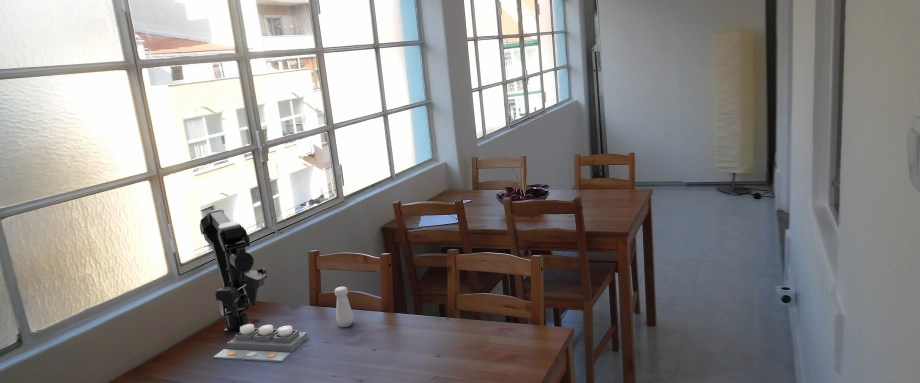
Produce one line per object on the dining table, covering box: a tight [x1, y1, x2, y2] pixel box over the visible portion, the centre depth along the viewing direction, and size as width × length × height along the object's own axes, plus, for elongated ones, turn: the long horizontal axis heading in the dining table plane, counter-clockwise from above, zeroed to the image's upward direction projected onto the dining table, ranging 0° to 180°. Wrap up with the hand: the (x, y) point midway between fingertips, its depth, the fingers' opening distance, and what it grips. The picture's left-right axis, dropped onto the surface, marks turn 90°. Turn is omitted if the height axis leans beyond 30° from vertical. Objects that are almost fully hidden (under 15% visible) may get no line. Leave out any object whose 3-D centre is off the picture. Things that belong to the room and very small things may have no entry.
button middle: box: [258, 324, 274, 336], centre depth 219 cm, size 4×4×2 cm
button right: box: [277, 325, 294, 337], centre depth 217 cm, size 4×4×2 cm
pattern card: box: [213, 348, 292, 363], centre depth 212 cm, size 24×5×1 cm, turn 73°
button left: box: [240, 323, 255, 335], centre depth 222 cm, size 4×4×2 cm
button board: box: [226, 327, 309, 353], centre depth 220 cm, size 23×10×4 cm, turn 73°
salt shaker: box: [334, 286, 355, 328], centre depth 228 cm, size 6×6×13 cm
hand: (245, 310), depth 220 cm, fingers open, 9 cm apart
